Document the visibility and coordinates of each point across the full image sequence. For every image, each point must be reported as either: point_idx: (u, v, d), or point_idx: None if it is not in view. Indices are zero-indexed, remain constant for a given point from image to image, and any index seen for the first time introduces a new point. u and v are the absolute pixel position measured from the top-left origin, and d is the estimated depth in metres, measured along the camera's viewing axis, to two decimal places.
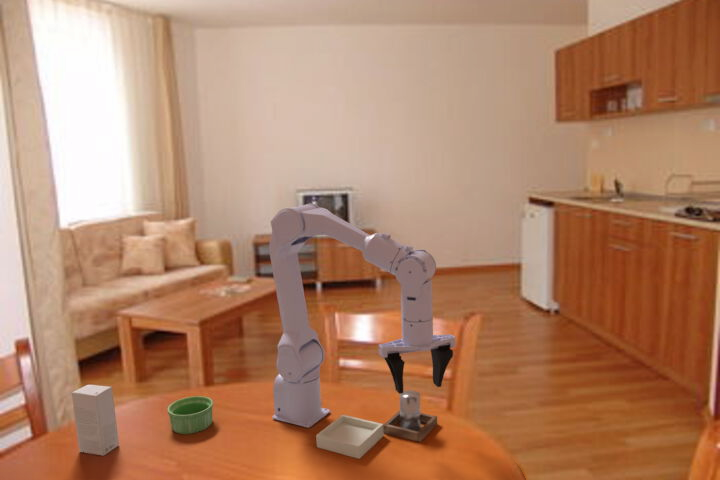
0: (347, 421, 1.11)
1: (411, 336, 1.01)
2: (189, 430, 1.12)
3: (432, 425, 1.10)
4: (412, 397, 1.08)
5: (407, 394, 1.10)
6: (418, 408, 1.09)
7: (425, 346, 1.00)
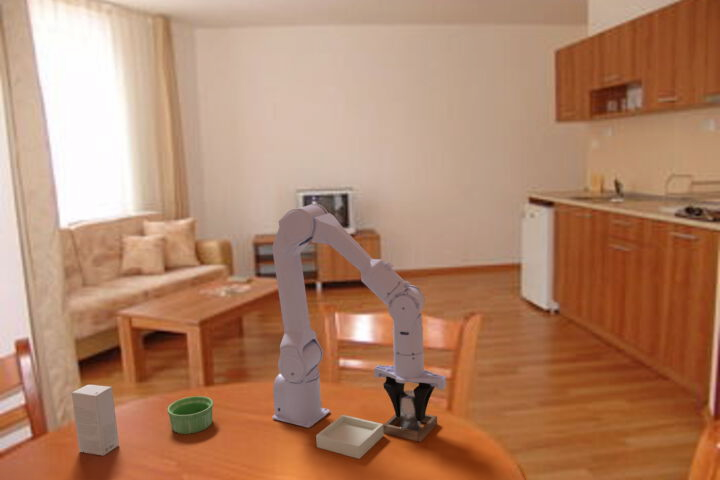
0: (347, 421, 1.11)
1: (394, 365, 1.08)
2: (189, 430, 1.12)
3: (432, 425, 1.10)
4: (412, 397, 1.08)
5: (407, 394, 1.10)
6: None
7: (401, 378, 1.06)
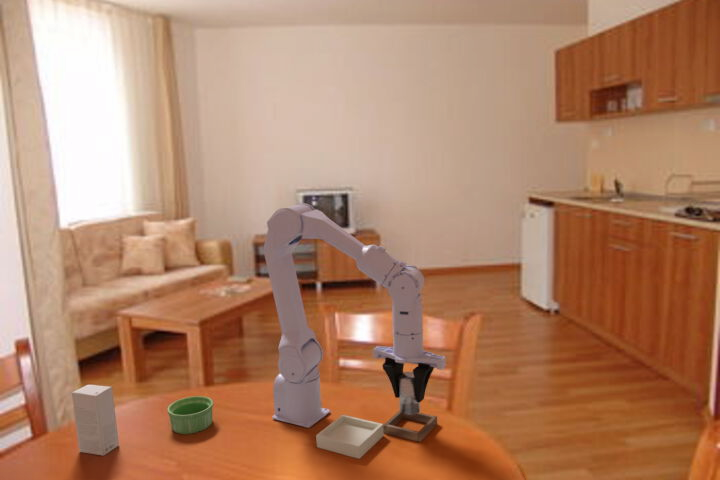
0: (347, 421, 1.11)
1: (394, 345, 1.07)
2: (189, 430, 1.12)
3: (432, 425, 1.10)
4: (411, 378, 1.08)
5: (406, 375, 1.09)
6: None
7: (400, 358, 1.05)
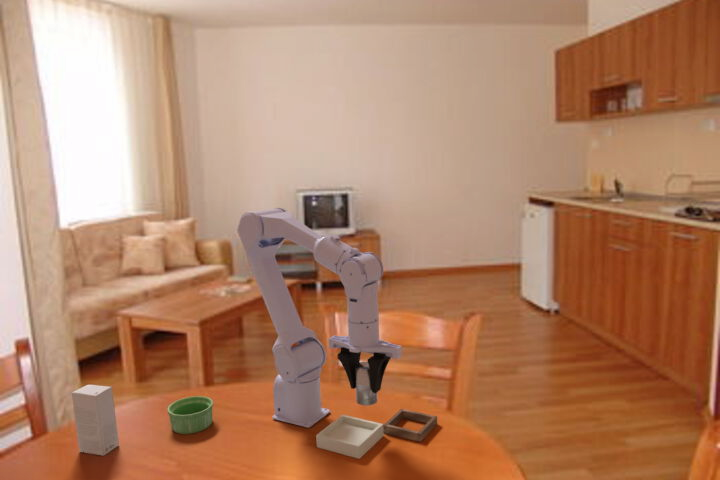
0: (347, 421, 1.11)
1: (348, 334, 1.04)
2: (189, 430, 1.12)
3: (432, 425, 1.10)
4: (367, 368, 1.05)
5: (363, 365, 1.06)
6: None
7: (355, 347, 1.02)
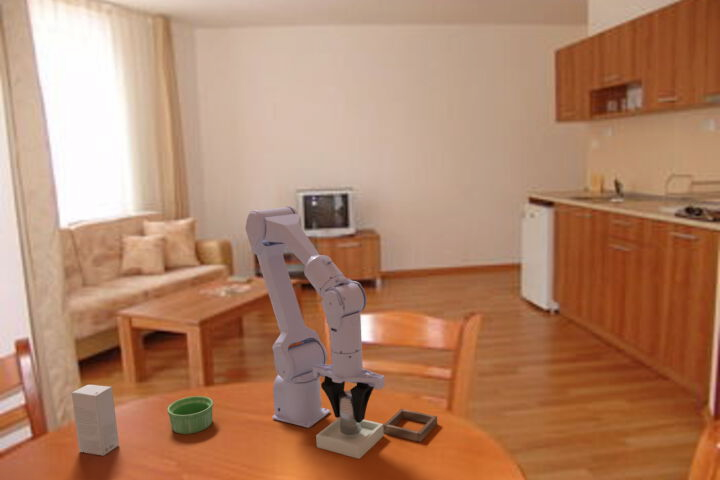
0: None
1: (332, 364, 1.04)
2: (189, 430, 1.12)
3: (432, 425, 1.10)
4: (350, 397, 1.04)
5: (346, 394, 1.06)
6: None
7: (338, 377, 1.02)
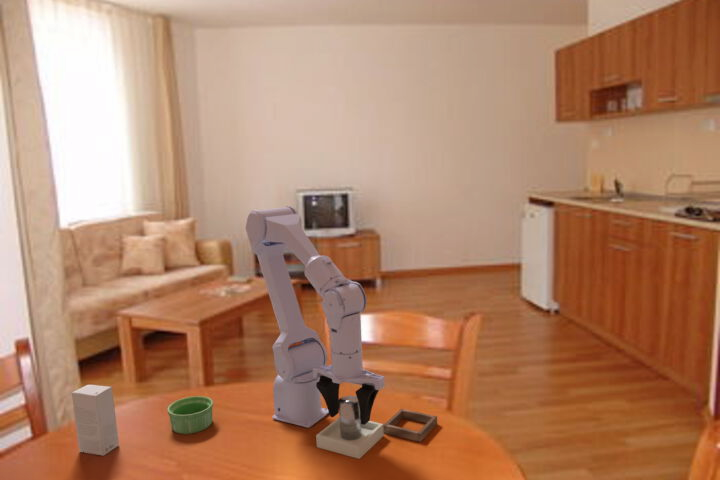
0: None
1: (332, 364, 1.04)
2: (189, 430, 1.12)
3: (432, 425, 1.10)
4: (350, 403, 1.04)
5: (347, 399, 1.06)
6: (356, 414, 1.04)
7: (338, 378, 1.02)
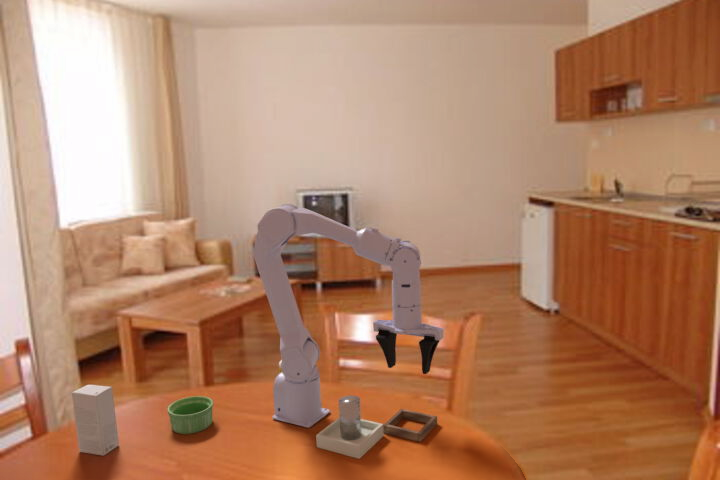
0: None
1: (393, 318, 1.11)
2: (189, 430, 1.12)
3: (432, 425, 1.10)
4: (350, 403, 1.04)
5: (347, 399, 1.06)
6: (356, 414, 1.04)
7: (400, 330, 1.09)
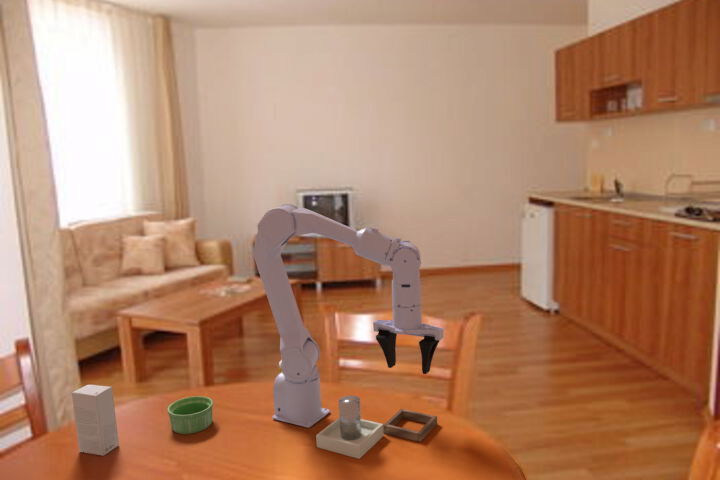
0: None
1: (393, 318, 1.11)
2: (189, 430, 1.12)
3: (432, 425, 1.10)
4: (350, 403, 1.04)
5: (347, 399, 1.06)
6: (356, 414, 1.04)
7: (400, 330, 1.09)
